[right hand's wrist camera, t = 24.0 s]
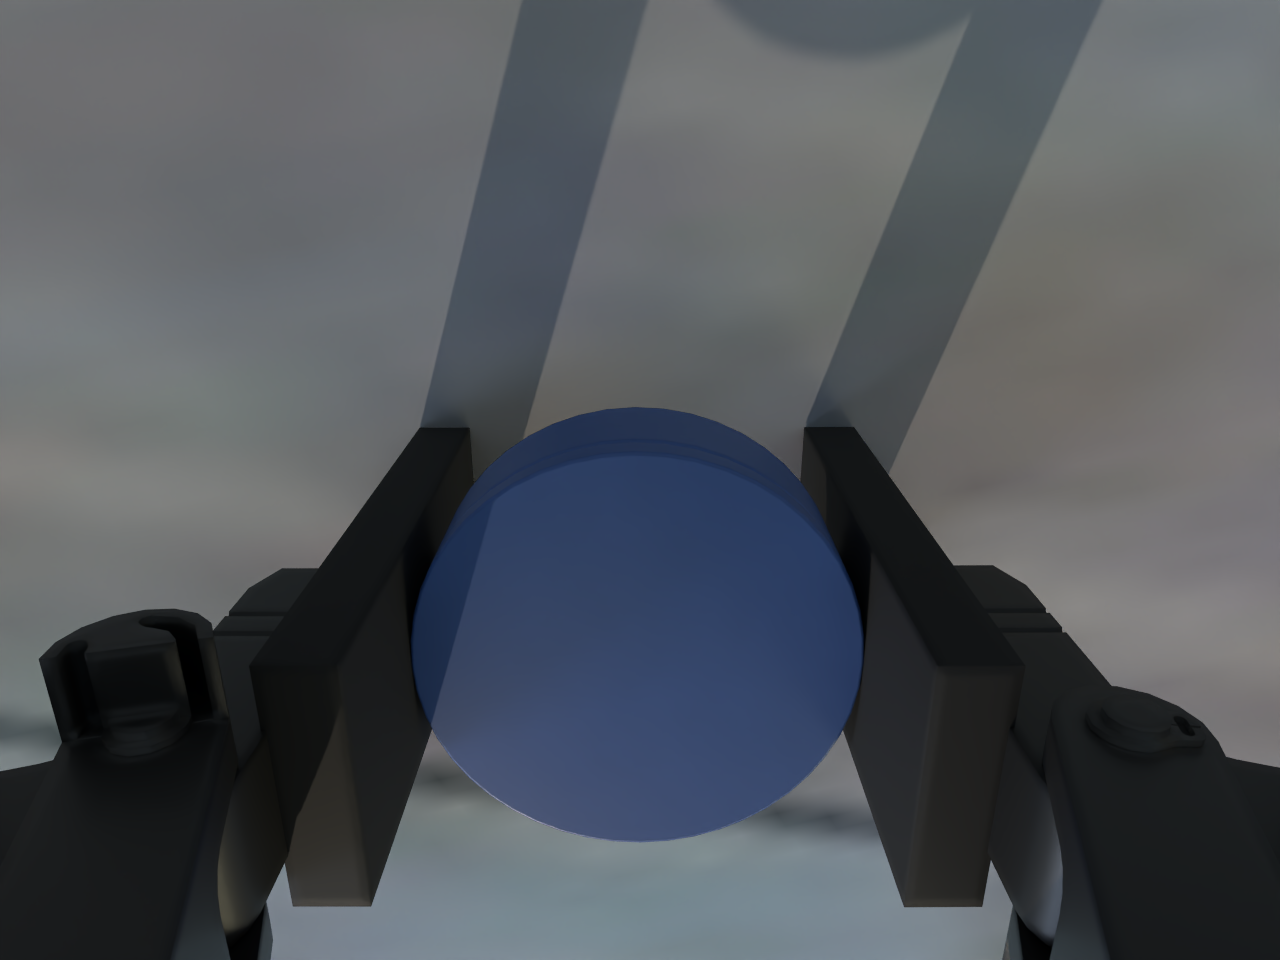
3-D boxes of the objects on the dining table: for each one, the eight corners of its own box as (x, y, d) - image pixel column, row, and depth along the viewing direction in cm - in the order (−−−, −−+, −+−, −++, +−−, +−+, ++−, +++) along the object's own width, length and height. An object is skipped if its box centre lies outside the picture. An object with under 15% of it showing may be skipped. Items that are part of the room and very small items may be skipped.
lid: (633, 316, 10) (631, 350, 9) (917, 591, 12) (959, 662, 10) (358, 597, 12) (317, 668, 10) (642, 815, 13) (641, 909, 12)
